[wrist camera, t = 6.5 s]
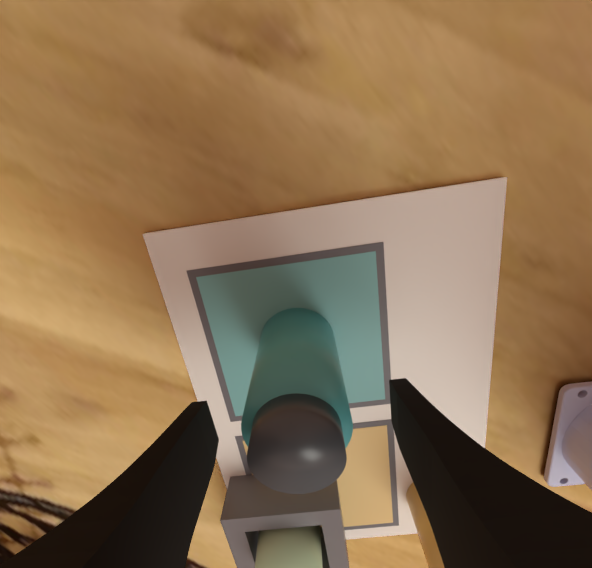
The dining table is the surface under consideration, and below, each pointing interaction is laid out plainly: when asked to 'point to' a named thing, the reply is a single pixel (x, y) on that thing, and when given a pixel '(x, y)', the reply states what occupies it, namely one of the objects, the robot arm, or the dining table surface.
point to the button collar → (281, 518)
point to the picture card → (347, 318)
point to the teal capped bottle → (297, 405)
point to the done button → (289, 548)
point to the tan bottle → (424, 529)
